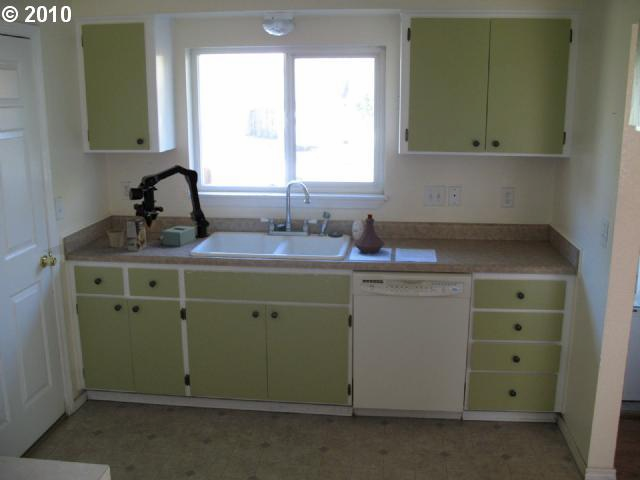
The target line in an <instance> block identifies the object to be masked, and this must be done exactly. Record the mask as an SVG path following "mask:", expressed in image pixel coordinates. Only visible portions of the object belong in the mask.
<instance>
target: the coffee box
mask: <svg viewBox="0 0 640 480" xmlns="http://www.w3.org/2000/svg"><path fill="white" fill-rule="evenodd" d="M126 236H127V251H133V252H140V251H142V250H144V249H146V248H147V243H146V241H147V240H146V239H147V238H146V229H145V219H144V218H139V217H138V218H132V219H130V220H129V219H128V220H127V221H126Z"/></svg>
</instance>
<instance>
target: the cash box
mask: <svg viewBox="0 0 640 480" xmlns="http://www.w3.org/2000/svg"><path fill="white" fill-rule="evenodd" d="M161 232H162V235H161V236H163V240H162V245H163V246H168V247H178V248H181V247H183V246H186V245H188V244H191V243H194V242H196V237H195V236H196V227H195V226H187V225H186V226H185V225H176V226H173V227H170V228H167V229H164V230H162V231H161Z"/></svg>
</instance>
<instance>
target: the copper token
mask: <svg viewBox="0 0 640 480" xmlns="http://www.w3.org/2000/svg"><path fill="white" fill-rule="evenodd" d="M156 227H157V226H156V220H154V219H152V220H151V225H150V227H148V226H147V223H146V221H145V230H146V229H147V230H155V229H156Z"/></svg>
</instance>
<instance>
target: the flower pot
mask: <svg viewBox="0 0 640 480" xmlns="http://www.w3.org/2000/svg"><path fill="white" fill-rule="evenodd" d="M125 232H126V230H125V229H119V228H118V229H110V230H106V233H107V235H108V238H109V243H110V248H115V249H116V248H117V249H118V248H122V247H123V246H124V236H125Z"/></svg>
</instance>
